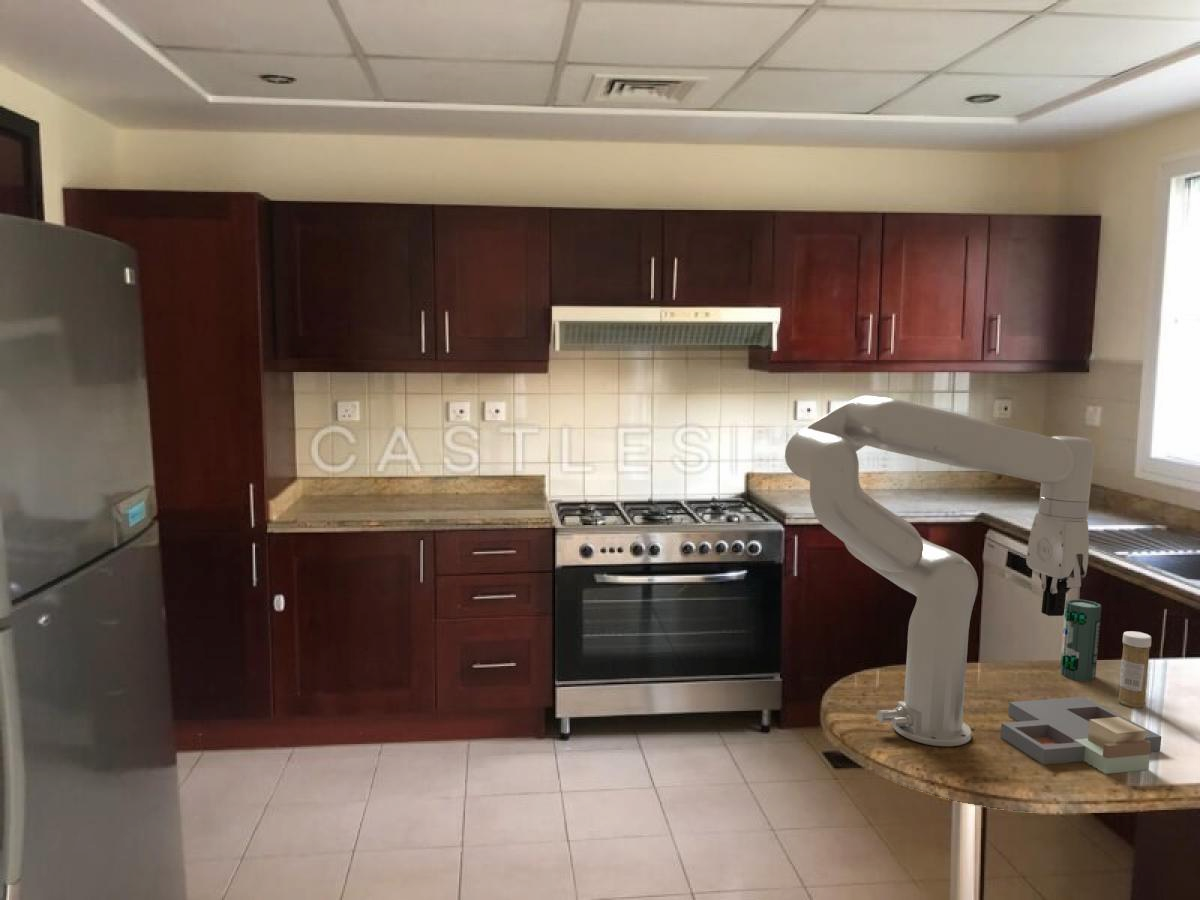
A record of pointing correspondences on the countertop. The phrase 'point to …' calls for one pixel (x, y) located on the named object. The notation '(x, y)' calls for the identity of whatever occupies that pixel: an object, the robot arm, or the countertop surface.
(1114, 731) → the birch block
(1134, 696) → the sprinkles bottle
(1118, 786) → the countertop surface
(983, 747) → the countertop surface
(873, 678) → the countertop surface
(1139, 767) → the board
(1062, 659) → the can
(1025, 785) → the countertop surface
